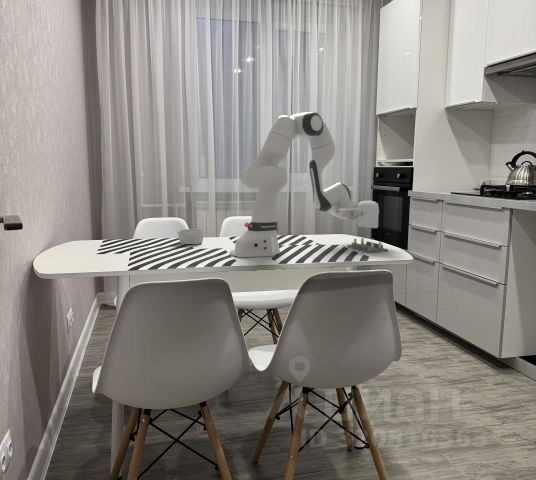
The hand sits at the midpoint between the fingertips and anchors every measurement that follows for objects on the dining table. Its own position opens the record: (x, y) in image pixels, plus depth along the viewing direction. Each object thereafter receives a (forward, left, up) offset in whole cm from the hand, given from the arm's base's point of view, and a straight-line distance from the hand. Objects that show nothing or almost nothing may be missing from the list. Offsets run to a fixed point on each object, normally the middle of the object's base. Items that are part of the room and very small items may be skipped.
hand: (367, 213), depth 217 cm
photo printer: (0, 0, -7) cm, 7 cm away
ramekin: (-71, +53, -17) cm, 90 cm away
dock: (0, 0, -17) cm, 17 cm away
